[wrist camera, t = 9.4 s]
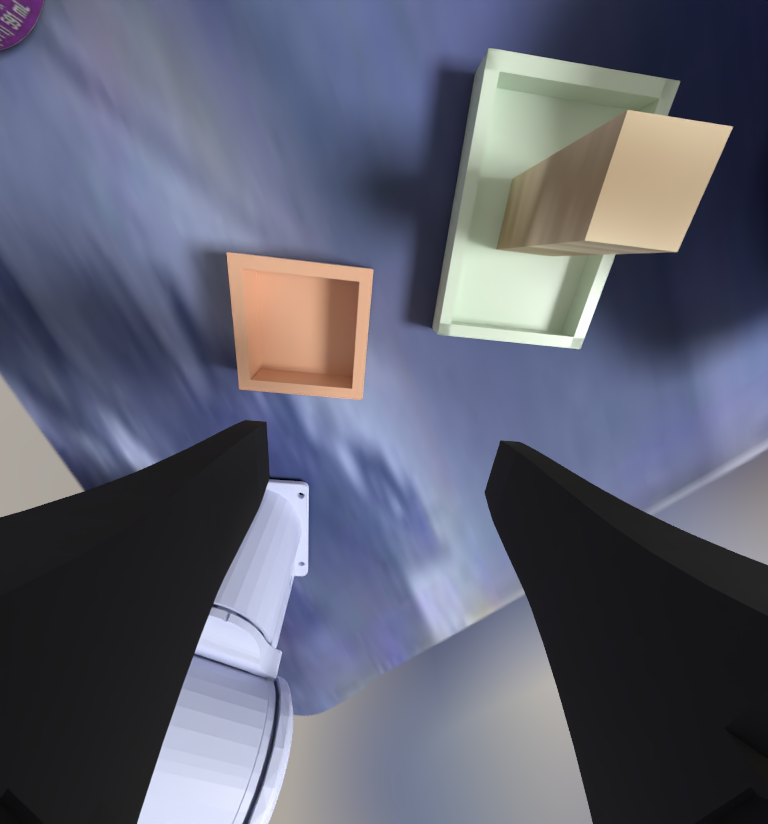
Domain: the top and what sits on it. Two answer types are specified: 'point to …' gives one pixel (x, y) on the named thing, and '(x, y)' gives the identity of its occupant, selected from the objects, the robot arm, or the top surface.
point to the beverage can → (17, 20)
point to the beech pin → (615, 189)
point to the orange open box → (300, 325)
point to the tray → (489, 189)
